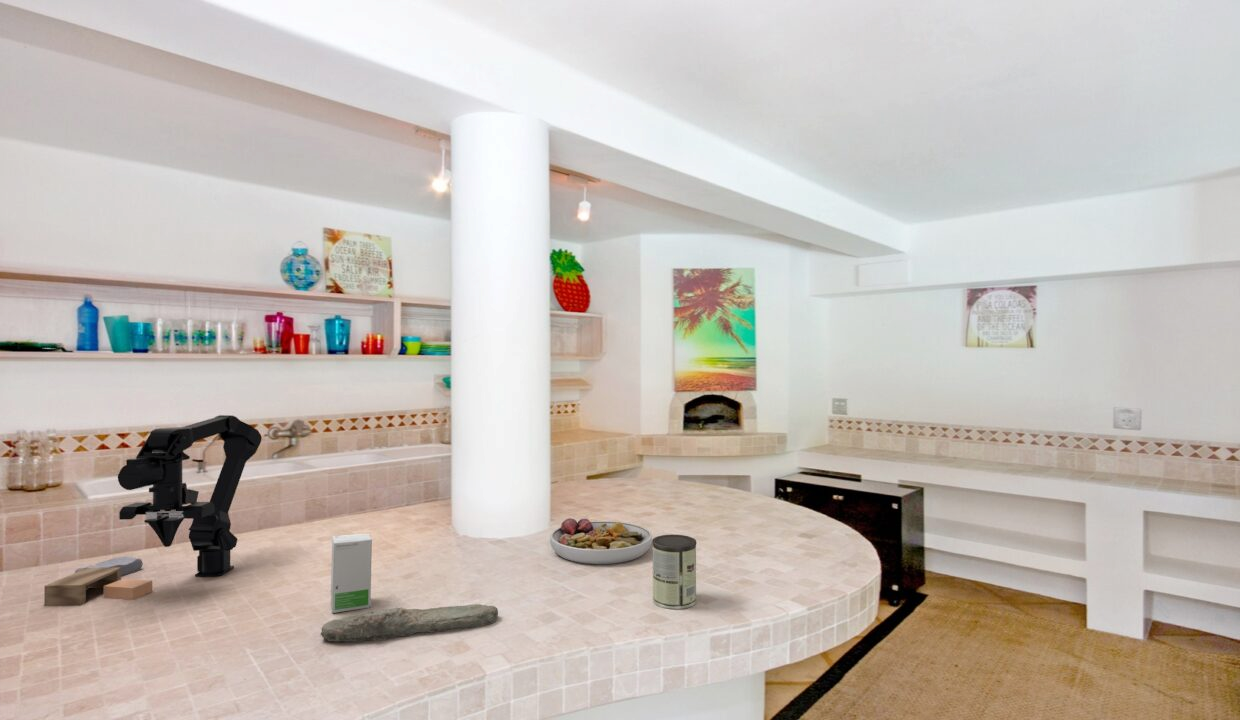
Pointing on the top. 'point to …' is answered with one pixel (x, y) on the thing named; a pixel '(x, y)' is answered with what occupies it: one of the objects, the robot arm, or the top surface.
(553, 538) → the bowl
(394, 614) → the elongated rock
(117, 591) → the peach cardboard box
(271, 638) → the top surface
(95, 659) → the top surface
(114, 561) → the stone block
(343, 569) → the skincare box
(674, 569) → the coffee can
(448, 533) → the top surface
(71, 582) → the shelf
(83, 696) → the top surface
